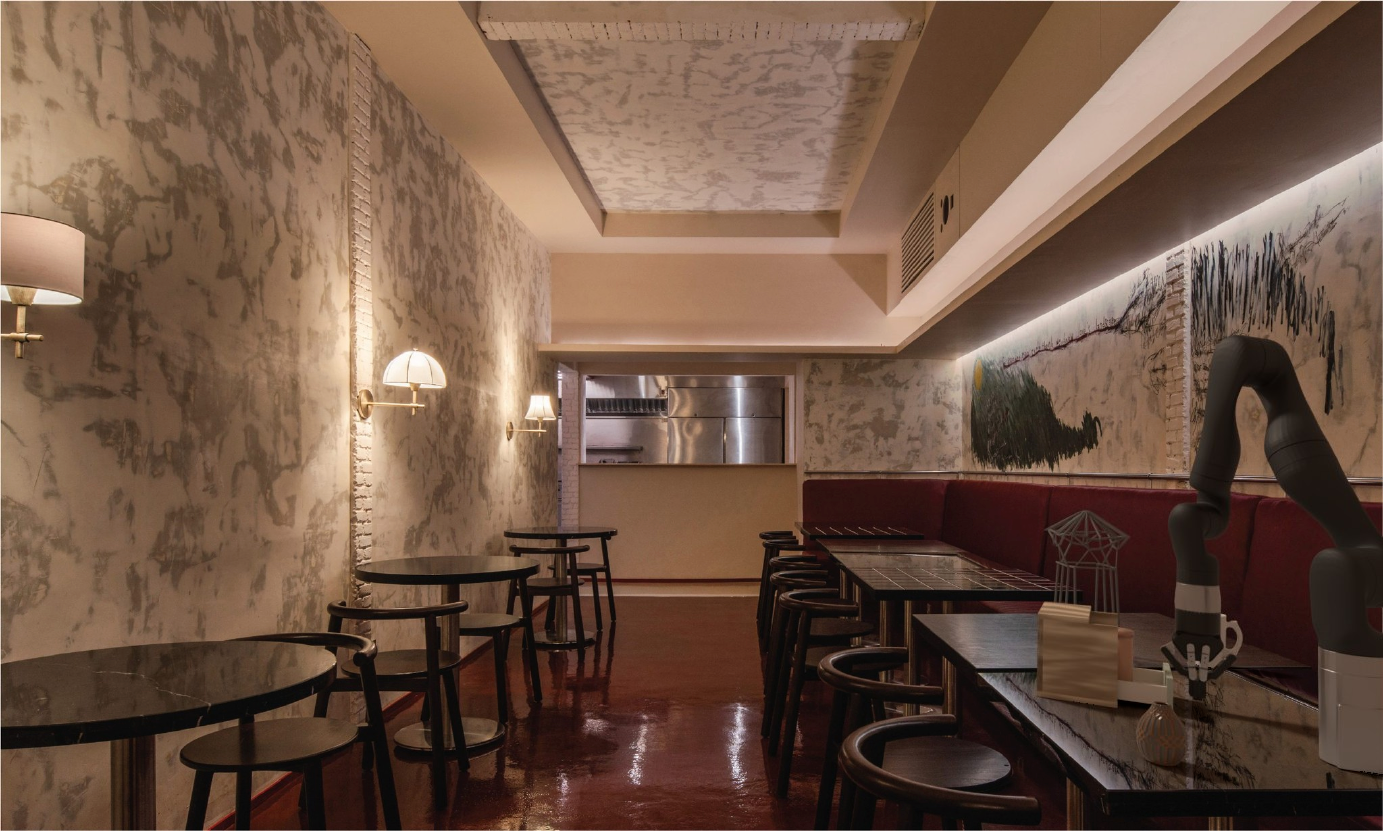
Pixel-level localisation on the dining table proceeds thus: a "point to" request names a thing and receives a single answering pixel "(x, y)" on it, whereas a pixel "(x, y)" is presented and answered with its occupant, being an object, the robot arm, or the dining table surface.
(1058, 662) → the housing
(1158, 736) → the vase
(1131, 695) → the tray
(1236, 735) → the dining table surface
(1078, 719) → the dining table surface
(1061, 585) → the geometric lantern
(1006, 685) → the dining table surface
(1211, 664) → the mug
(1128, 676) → the canister
